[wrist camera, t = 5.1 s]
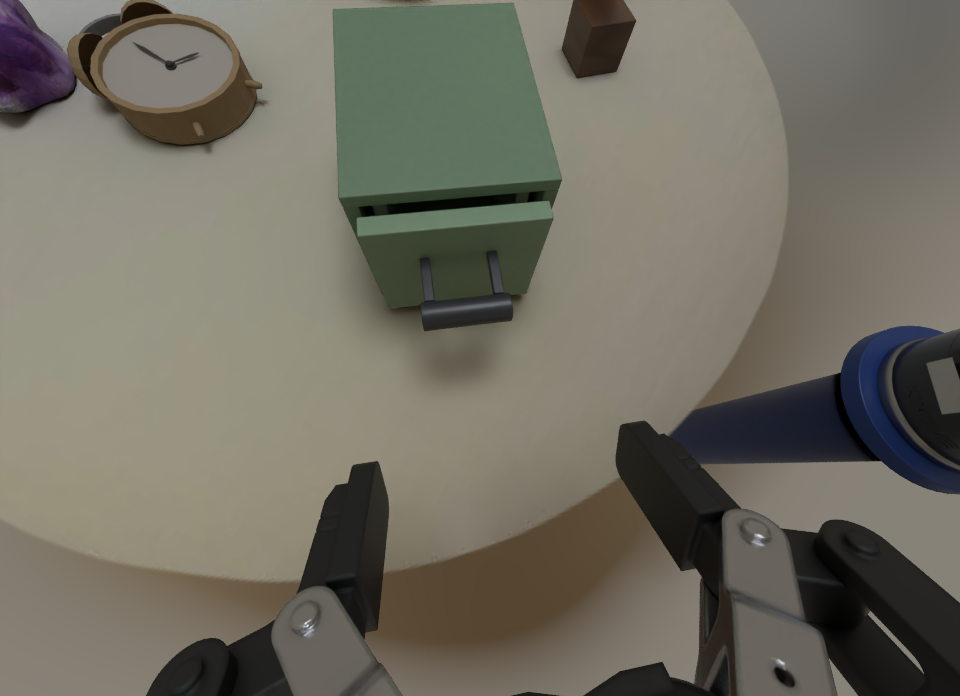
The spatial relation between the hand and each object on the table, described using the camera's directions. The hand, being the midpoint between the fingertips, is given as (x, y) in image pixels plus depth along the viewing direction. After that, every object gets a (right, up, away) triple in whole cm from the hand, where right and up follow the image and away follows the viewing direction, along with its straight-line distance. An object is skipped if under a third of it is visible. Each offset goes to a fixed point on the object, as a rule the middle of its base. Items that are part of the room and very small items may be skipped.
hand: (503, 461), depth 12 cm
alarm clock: (-29, +28, +22) cm, 45 cm away
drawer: (-3, +12, +17) cm, 20 cm away
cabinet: (-4, +15, +19) cm, 25 cm away
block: (+11, +34, +26) cm, 44 cm away
